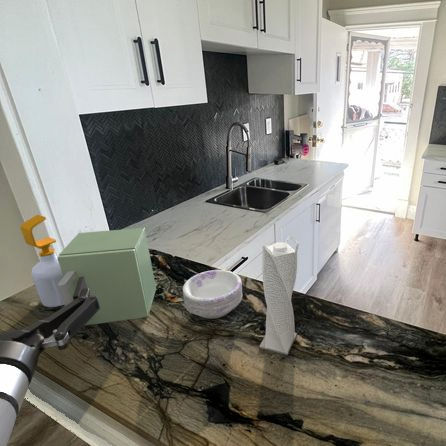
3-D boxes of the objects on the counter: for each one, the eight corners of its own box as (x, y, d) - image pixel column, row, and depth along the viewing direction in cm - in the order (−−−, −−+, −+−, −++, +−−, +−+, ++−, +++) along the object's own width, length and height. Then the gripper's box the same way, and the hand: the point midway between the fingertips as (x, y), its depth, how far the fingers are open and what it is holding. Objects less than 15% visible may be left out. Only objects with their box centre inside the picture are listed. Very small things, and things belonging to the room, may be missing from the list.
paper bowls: (213, 285, 96) (210, 263, 93) (253, 301, 89) (252, 277, 86) (173, 314, 83) (169, 289, 80) (217, 334, 77) (214, 308, 74)
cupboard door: (143, 332, 77) (127, 262, 69) (69, 343, 73) (44, 270, 66) (148, 314, 83) (134, 248, 75) (80, 323, 79) (58, 255, 72)
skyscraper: (302, 335, 77) (305, 232, 66) (291, 360, 70) (293, 249, 59) (270, 328, 79) (268, 227, 68) (257, 351, 72) (252, 243, 61)
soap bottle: (88, 293, 91) (65, 215, 81) (54, 311, 84) (24, 227, 74) (68, 285, 95) (44, 209, 85) (35, 302, 87) (3, 221, 77)
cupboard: (149, 314, 83) (135, 247, 75) (81, 323, 80) (58, 254, 72) (156, 288, 94) (144, 227, 86) (96, 295, 90) (78, 232, 82)
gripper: (-137, 445, 36) (-44, 325, 54) (112, 373, 45) (121, 292, 63) (-175, 399, 33) (-63, 288, 51) (100, 333, 42) (113, 259, 60)
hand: (39, 290), depth 57 cm, fingers open, 13 cm apart
